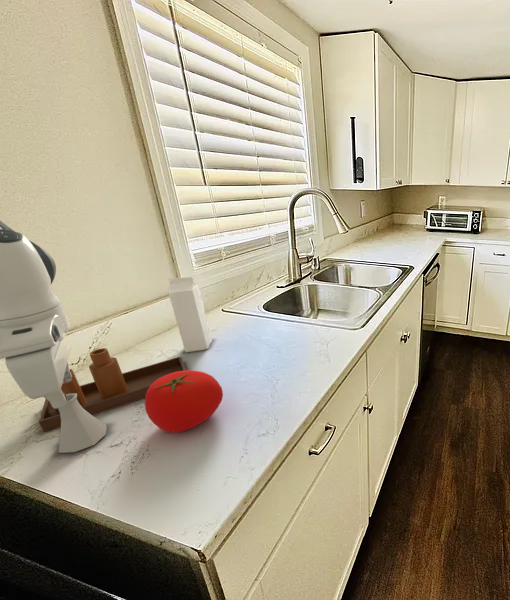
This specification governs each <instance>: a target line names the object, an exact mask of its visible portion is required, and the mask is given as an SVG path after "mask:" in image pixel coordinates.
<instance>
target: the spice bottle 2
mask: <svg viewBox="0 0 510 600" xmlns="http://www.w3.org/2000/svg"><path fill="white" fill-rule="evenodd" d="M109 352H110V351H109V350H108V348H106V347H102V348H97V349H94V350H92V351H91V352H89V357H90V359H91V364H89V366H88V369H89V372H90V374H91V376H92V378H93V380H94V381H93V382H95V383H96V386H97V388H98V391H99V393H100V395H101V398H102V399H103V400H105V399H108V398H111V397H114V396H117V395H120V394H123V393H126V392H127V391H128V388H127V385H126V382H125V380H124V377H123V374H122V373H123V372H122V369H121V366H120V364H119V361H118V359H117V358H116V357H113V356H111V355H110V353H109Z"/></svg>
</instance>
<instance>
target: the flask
mask: <svg viewBox="0 0 510 600" xmlns="http://www.w3.org/2000/svg"><path fill="white" fill-rule="evenodd" d="M66 397H67V399H68V400H67V404H66V405H65V406H63V407H60V408H58V409H59V411H60V416H61V426H60V436H59V444H58V453H59V454H61V453H62V454H63V453H64V454H65V453H76V452H79V451H81V450H84V449H87V448H89V447H92V446H94V445H96V444H97V443H98V442H99V441H100V440H101V439H102V438H104V437H105V435H107V432H108V431H107V429H108V428H107V427H108V426H107V424H106V423H104V422H102V421H101V420H100V419H99V418H97V417H95V416H94V415H91V414H90V413H88V412H87V411H86V410H84V409H83V408H82V406H81V405H80V404H79V403H78V401H77V393H72V394H67V395H66Z"/></svg>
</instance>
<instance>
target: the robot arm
mask: <svg viewBox="0 0 510 600" xmlns="http://www.w3.org/2000/svg"><path fill="white" fill-rule="evenodd" d="M56 273H57V265H56V262H55V260H54V259H53V257H52V256H51V255H50V253H48V252H47V250H45V249H44V248H43V247H41V246H40V245H38V244H37V243H35V242H34V241H31V240H30V239H28V238H27V236H26V235H24V234H23V233H21V232H18V231H15V230H14V229H12V228H11V227H9V226H8V225H7V224H6V223H4V222H3V221H2V220H0V360H2V359H4V364H5V366H6V369H7V370H8V372H9V374H10V375H11V377H12V379H13V380H14V381H15V383H16V385H17V386H18V387H19V389H20V391H21V392H22V393H23V394H24V395H25V397H27V398H29V399H31V400H36V399H41V398H44V399H47V400H48V401H50V403H51V405H52V407H53V408H60V407H63V406H65V405H66V404H67V400H68V399H67V397H66V395H65V393H63V392H62V390H61V387H62V384H64V383H66V382H70V381H71V379H72V375H71V372H70V370H69V369H70V364H69V357H70V354H71V353H70V352H71V344H70V340H69V339H68V337H67V335H66V333H65V332H67V331H68V330H69V329H70V328H71V323H70V320H69V318H68V316H67V314H66V311H65V309H64V306H63V304H62V302H61V300H60V298H59V297H57V295H56V294H55V293H54V292H53V289H52V284H53V282H54V281H55V278H56Z"/></svg>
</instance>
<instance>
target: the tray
mask: <svg viewBox="0 0 510 600" xmlns="http://www.w3.org/2000/svg"><path fill="white" fill-rule="evenodd" d="M178 371H187V368H186V365H185V362H184V360H183V358H182V355H180V356H177V357H172V358H169V359H166V360H163V361H160V362H156V363H153V364H150V365H146V366H143V367H139V368H135V369H133V370H129V371H125V372H122V374H123V377H124V380H125V382H126V385H127V388H128V391H127V392H126V393H123V394H120V395H117V396H114V397H111V398H108V399H105V400H103V399H102V398H101V395H100V393H99V391H98V388H97V386H96V383H95V381H92V382H89V383H83V384H81V385H80V388H81V390H82V392H83V394H84V397H85V399H86V401H87V403H86V405H85V406H83V407H82V408H83V409H84V410H86V411H87V412H88V413H90V414H91V415H92V416H94V415H97V414H100V413H103V412H106V411H109V410H113V409H116V408H119V407H120V406H123V405H127V404H130V403H133V402H136V401H138V400H142V399H145V396H146V393H147V390H148V388H149V387H150V386H151V385H152V384H153V383H154V382H155V381H156V380H157V379H159V378H161V377H163V376H165V375H168V374H170V373H174V372H178ZM44 399H45V400H44V403H43V406H42V409H41V413H40V417H39V420H38V423H39V426H40V427H41V429H42V432H48V431H50V430H53V429H57V428H59V427H61V416H60V414H58V413H57V412H56V410H55V408H53V407H52V405H51V403H50V401H48V400H47V399H46V398H44Z"/></svg>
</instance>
